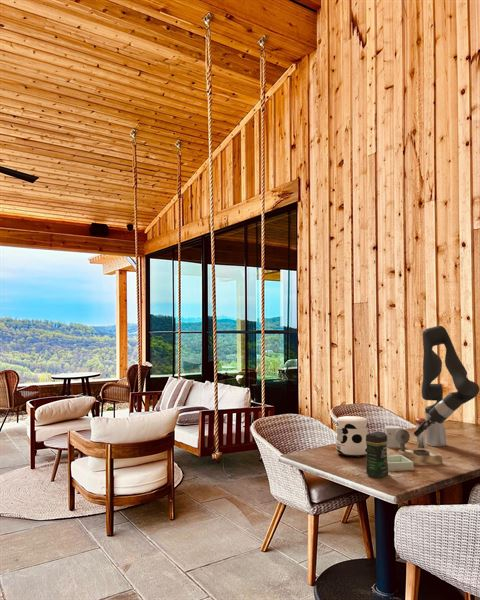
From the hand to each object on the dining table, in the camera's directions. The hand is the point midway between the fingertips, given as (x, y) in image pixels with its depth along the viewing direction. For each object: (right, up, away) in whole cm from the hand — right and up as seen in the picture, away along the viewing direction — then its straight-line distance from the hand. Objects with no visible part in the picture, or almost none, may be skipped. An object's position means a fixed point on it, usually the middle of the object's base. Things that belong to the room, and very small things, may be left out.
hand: (416, 434), depth 220 cm
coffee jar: (-25, -13, -20) cm, 34 cm away
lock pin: (+2, -6, -2) cm, 6 cm away
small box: (-2, -15, +29) cm, 32 cm away
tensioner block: (+1, -13, 0) cm, 13 cm away
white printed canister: (-27, -15, +14) cm, 34 cm away
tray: (-13, -13, -8) cm, 20 cm away
